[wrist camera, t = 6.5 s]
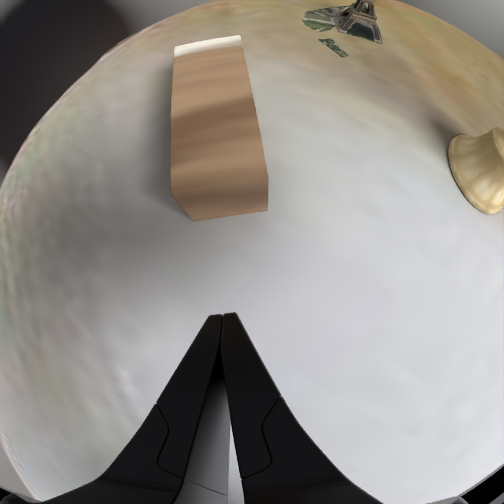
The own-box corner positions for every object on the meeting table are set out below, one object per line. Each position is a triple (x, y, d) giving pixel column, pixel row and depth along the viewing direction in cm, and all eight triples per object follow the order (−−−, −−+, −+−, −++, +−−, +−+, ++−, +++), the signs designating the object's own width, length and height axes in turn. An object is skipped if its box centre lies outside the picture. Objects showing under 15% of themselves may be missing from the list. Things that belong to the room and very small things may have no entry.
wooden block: (268, 178, 13) (240, 35, 16) (171, 194, 14) (175, 46, 16) (267, 210, 18) (244, 77, 21) (193, 221, 18) (188, 86, 21)
